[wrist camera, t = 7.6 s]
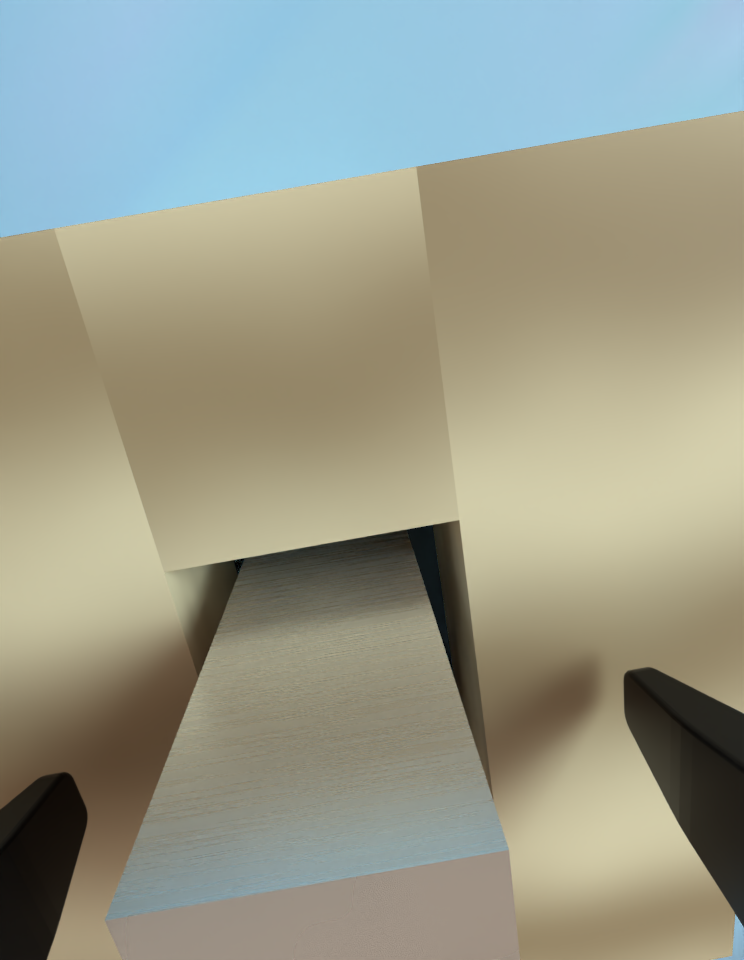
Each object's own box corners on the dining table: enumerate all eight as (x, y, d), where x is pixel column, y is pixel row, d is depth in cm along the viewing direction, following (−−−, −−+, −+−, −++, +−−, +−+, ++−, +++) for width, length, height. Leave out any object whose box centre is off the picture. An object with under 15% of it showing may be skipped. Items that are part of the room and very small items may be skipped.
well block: (642, 810, 15) (731, 955, 11) (150, 900, 15) (94, 1074, 11) (638, 175, 10) (793, 101, 6) (-103, 302, 10) (-335, 295, 6)
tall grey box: (423, 682, 13) (544, 1203, 5) (304, 702, 13) (255, 1254, 5) (395, 495, 11) (509, 849, 4) (260, 517, 11) (104, 920, 4)
